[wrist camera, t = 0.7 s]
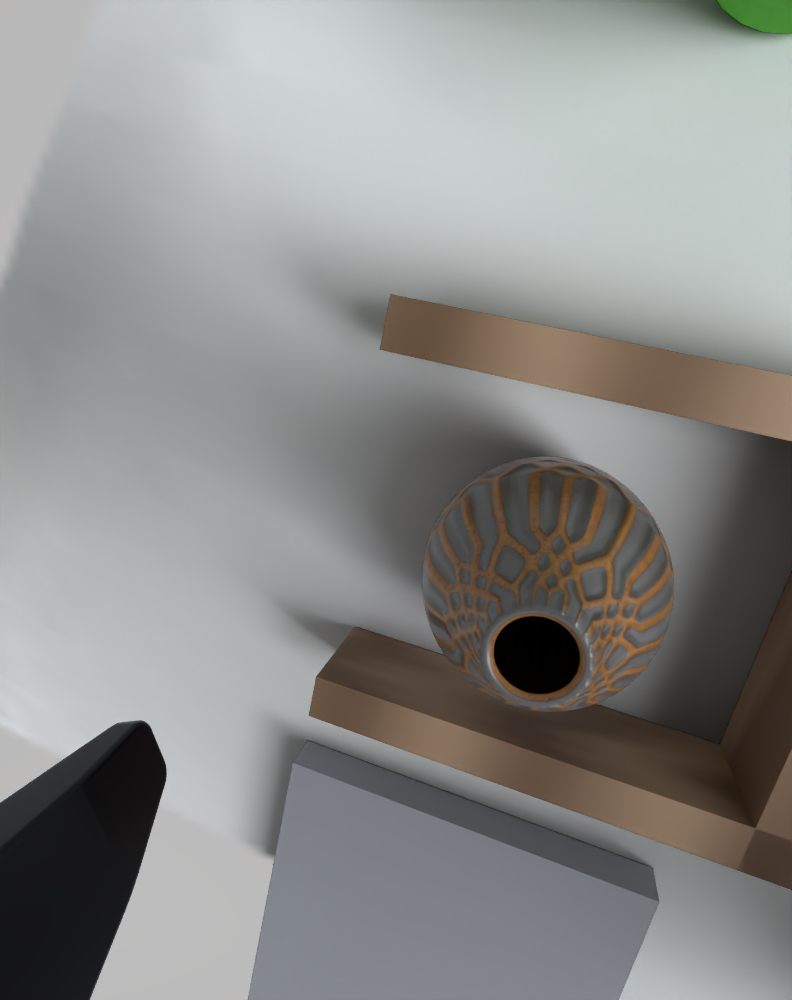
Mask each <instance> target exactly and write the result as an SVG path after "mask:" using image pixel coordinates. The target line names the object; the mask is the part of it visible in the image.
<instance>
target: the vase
mask: <svg viewBox="0 0 792 1000" xmlns="http://www.w3.org/2000/svg"><path fill="white" fill-rule="evenodd" d="M422 589H423V598H424V605H425V610H426V614H427V618H428V621H429V624H430V627H431V629H432V632H433V634H434V637H435V639H436V641H437V643H438V645H439V646H440V648H441V650H442V651H443V653H444V654H445V656H446V657H447V659H448V660H449V661H450V663H451V664H452V665H453V666H454V668H455V669H456V670H457V671H458V672H459V673H460V674H461V675H462V676H463V677H464V678H465V679H466V680H468V681H469V682H470V683H471V684H472V685H474V686H475V687H477V688H478V689H479V690H481V691H482V692H484V693H486V694H488V695H489V696H491V697H493V698H495V699H497V700H499V701H502V702H504V703H507V704H509V705H512V706H515V707H519V708H523V709H528V710H534V711H544V712H559V711H568V710H575V709H580V708H584V707H587V706H591V705H594V704H596V703H599V702H601V701H603V700H605V699H608V698H609V697H611V696H613V695H615V694H616V693H618V692H619V691H621V690H622V689H624V688H625V687H626V686H627V685H629V684H630V683H631V682H632V681H633V680H634V679H635V678H636V677H637V676H639V675H640V673H641V672H642V671H643V670H644V669H645V668H646V666H647V665H648V664H649V662H650V661H651V660H652V658H653V656H654V655H655V653H656V651H657V650H658V648H659V646H660V644H661V642H662V640H663V637H664V635H665V632H666V630H667V627H668V624H669V620H670V616H671V611H672V605H673V597H674V579H673V568H672V562H671V558H670V554H669V550H668V547H667V545H666V542H665V539H664V537H663V535H662V533H661V531H660V528H659V527H658V525H657V523H656V521H655V520H654V518H653V517H652V515H651V514H650V512H649V511H648V509H647V508H646V507H645V506H644V504H643V503H642V502H641V501H640V500H639V499H638V498H637V496H636V495H635V494H634V493H633V492H632V491H630V490H629V489H628V488H627V487H626V486H625V485H623V484H622V483H621V482H619V481H618V480H617V479H615V478H614V477H612V476H610V475H609V474H607V473H606V472H604V471H602V470H600V469H598V468H596V467H593V466H591V465H588V464H585V463H583V462H579V461H575V460H572V459H566V458H559V457H530V458H523V459H518V460H514V461H511V462H507V463H505V464H502V465H499V466H497V467H495V468H493V469H491V470H489V471H487V472H485V473H483V474H482V475H480V476H478V477H477V478H475V479H474V480H473V481H471V482H470V483H469V484H467V485H466V486H465V487H464V488H463V489H462V490H461V491H460V492H459V493H458V494H457V495H456V496H455V497H454V498H453V499H452V500H451V501H450V503H449V504H448V505H447V506H446V508H445V509H444V511H443V512H442V514H441V515H440V517H439V519H438V520H437V522H436V524H435V526H434V528H433V530H432V533H431V535H430V538H429V541H428V544H427V547H426V552H425V557H424V562H423V572H422Z"/></svg>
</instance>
